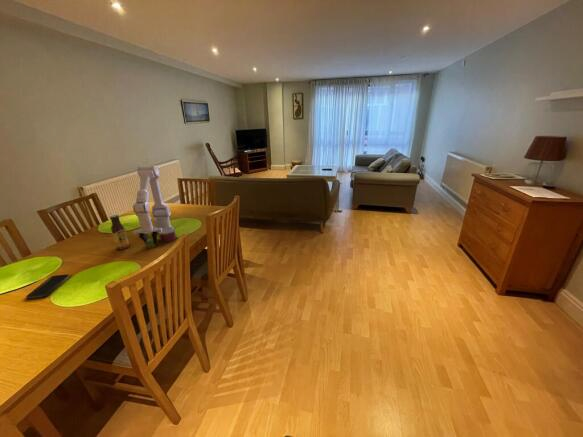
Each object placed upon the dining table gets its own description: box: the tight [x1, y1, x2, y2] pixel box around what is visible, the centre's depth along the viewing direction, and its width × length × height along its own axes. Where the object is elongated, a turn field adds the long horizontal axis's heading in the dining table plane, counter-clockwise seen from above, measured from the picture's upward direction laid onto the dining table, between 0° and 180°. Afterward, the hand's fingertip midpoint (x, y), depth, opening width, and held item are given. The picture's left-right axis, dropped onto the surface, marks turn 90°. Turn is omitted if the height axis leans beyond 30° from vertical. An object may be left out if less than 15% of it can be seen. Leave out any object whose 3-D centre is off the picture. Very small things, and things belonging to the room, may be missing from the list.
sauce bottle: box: [109, 214, 130, 250], centre depth 136 cm, size 6×6×20 cm
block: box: [145, 237, 158, 249], centre depth 140 cm, size 4×4×4 cm
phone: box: [25, 274, 70, 300], centre depth 107 cm, size 8×1×15 cm
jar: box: [158, 226, 177, 243], centre depth 148 cm, size 10×10×6 cm
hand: (151, 243), depth 141 cm, fingers closed on block, 4 cm apart
